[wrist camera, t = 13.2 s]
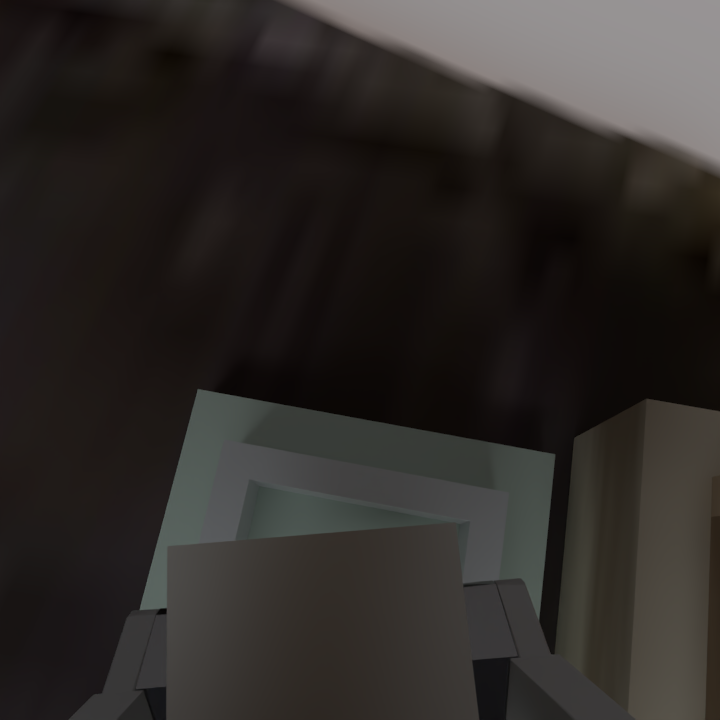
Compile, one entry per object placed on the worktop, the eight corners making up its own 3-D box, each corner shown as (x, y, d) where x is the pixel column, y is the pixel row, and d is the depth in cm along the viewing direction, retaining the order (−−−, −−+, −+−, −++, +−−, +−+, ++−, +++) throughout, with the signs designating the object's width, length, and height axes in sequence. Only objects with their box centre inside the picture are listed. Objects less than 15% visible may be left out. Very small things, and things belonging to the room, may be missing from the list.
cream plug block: (264, 724, 15) (165, 892, 8) (258, 550, 17) (167, 546, 9) (431, 709, 15) (496, 860, 8) (414, 537, 17) (455, 522, 9)
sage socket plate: (110, 776, 20) (59, 821, 16) (208, 399, 23) (182, 373, 20) (501, 861, 19) (531, 926, 16) (542, 460, 23) (574, 444, 19)
